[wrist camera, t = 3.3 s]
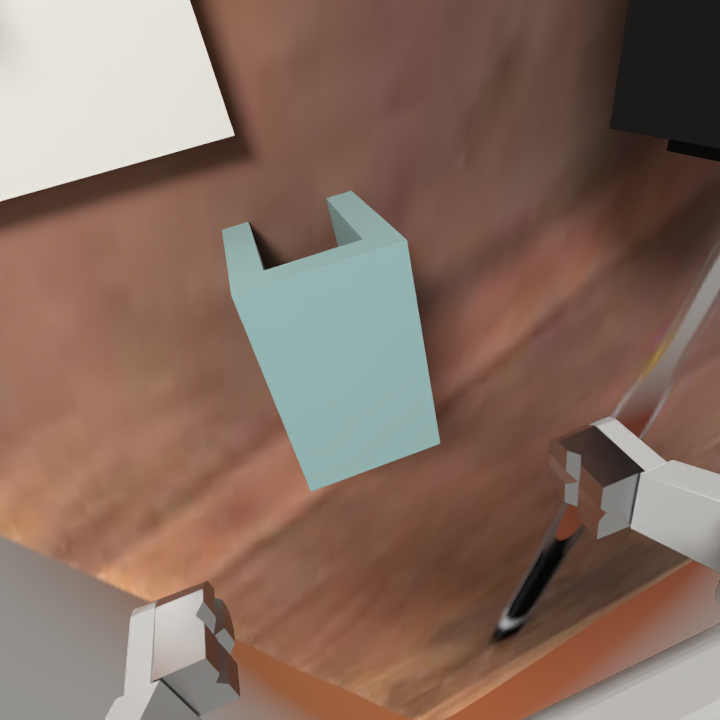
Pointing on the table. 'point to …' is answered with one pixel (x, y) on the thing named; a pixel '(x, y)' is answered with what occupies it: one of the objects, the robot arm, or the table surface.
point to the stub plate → (100, 88)
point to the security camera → (671, 75)
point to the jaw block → (339, 344)
